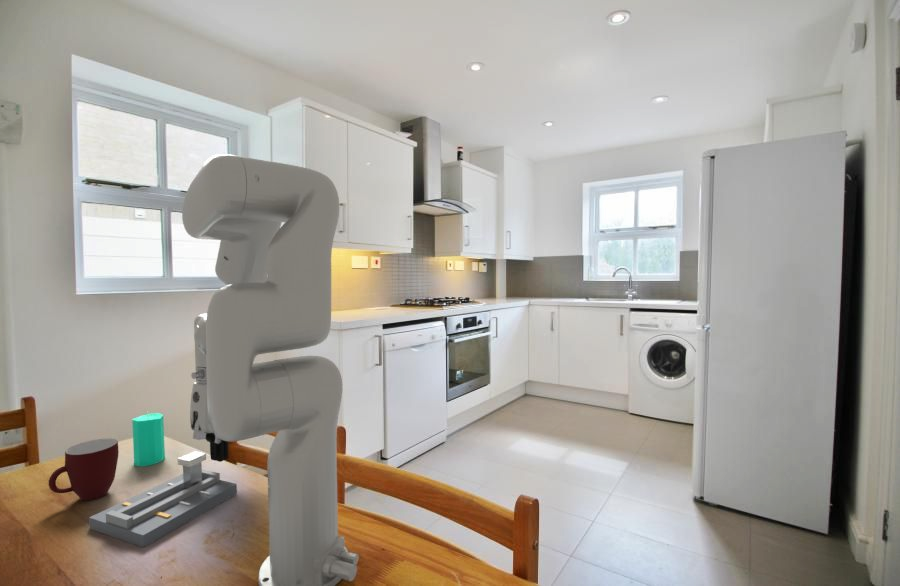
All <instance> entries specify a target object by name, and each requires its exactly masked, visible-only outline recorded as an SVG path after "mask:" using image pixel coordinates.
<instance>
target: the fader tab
mask: <svg viewBox="0 0 900 586" xmlns="http://www.w3.org/2000/svg"><path fill="white" fill-rule="evenodd" d="M206 460H207V453H205V452H200V451H196V450H194V451H192V452H190V453H186V454H185V455H182V456H180V457H177V465H179V466H182V474H183V483H184V488H190V487H192V486H194V485H196V484H198V483H200V482H202V469H203V468H202V462H205V461H206Z"/></svg>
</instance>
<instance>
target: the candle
mask: <svg viewBox="0 0 900 586" xmlns="http://www.w3.org/2000/svg"><path fill="white" fill-rule="evenodd" d="M146 412H147V414H143V415H142V414H141V415H140V416H137V417H134V418H132V419H131V420H132V421H131V422H132V442H133V443H132V444H133V448H132V449H133V464H134V466H136V467H147V466H152V465H155V464H158V463H160V462H162V461H163V460H164V459H165V458H166V454H165V453H166V451H165V432H164V431H165V428H164V427H165V425H164V414H162V413H158V412H152V413H151V412H150V413H149V410H146Z"/></svg>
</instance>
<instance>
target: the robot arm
mask: <svg viewBox="0 0 900 586" xmlns="http://www.w3.org/2000/svg"><path fill="white" fill-rule="evenodd" d="M182 203H183V204H182V207H181V208H182V209H181V212H182V213H181V215H182V216H181V218H182V224H183V227H184V229H185V231H186V233H187V234H188V236H190V237H192V238H194V239H196V240H198V239H199V240H212V241H213V240H214V241H220V243H219V248H218V252H217V253H218V254H217V257H216V261H215V262H216V263H215V267H214V270H215V271H214V272H215V275H216V276H217V278H218V280H220V281H221V282H222V283H223V284H224V285H223V286H222V287H220V288H218V289H217V290H216V291H215V293H214V294H213V295H212V296H211V299H210V302H209V304H208V307H207V311H206V313H201V314H199V315H196V317H194V321H193V330H194V331H193V332H194V333H193V334H194V335H193V337H194V338H193V339H194V361H195V363H194V365H195V371H193V372H191V374H190V376H191V378H192V379H193V380H195V382H193V385H192V390H191V396H190V397H191V398H190V408H189V417H190V418H189V419H190V421H189V422H190V428H191V430H192V431H193V434H192V439H194V440H196V441H197V440H198V441H200V440H206V442H208V443H209V451H210V454H209V455H210V459H211V461H216V462H221V463H222V462H223V461H225V460H227V459H229V443H230V442H233V443H234V442H239V441H244V440H250V439H253V438H257V437H261V436H264V435H269V434H273V433H276V432H277V433H276V436H275V437H274V439H273V441H272V443H271V446H270V448H269V451H268V456H267V463H266V464H267V465H266V468H267V470H266V472H267V497H268V498H267V499H268V501H267V503H268V504H267V505H268V506H267V507H268V536H269V537H268V540H269V546H268V547H269V556H266V559H265V560H264V561H262V563H261V566H260V567H259V570H258V575H257V576H258V577H257V582H258V586H336V585H337V584H338V583H340V582H341V580H345V581H348V582H353V580H355V578H356V575H357V572H358V566H357V564H358V562H359V558H360V556H359V555H360V554H358V553H355V552H351V551H348V548H347V547H346V546H345V537H344V536H340V535H339V524H338V523H339V520H338V517H339V515H338V513H339V511H338V472H337V471H338V470H337V469H338V466H337V465H338V464H337V463H338V462H337V461H338V457H337V456H338V454H337V452H338V451H337V448H338V447H337V446H338V445H337V437H338V435H337V433H338V422H339V414H340V409H341V403H342V398H343V378H342V374H341V371H340V370H339V368H338V365H336V363H334V362H333V361H332V360H331V359H329V358H326V357H323V356H321V355H320V356H319V355H300V356H295V357H287V358H286V357H285V358H281V359H273V360H270V361H263V362H256V363H254V361H255V359H256V357H257V356H258V355H263V354H272V353H277V352H279V353H280V352H285V351H292V350H300V349H305V348H306V349H307V348H310V347H314V346H317V345H320V344H322V343H323V342H324V341H326V339H327V338H328V336H329V334H330V331H331V326H332V323H331V322H332V252H333V244H334V238H335V235H336V231H337V227H338V222H339V217H340V198H339V193H338V190H337V187H336V185H335V184H334V182H333V181H332V180H331V178H330V177H329V176H327V175H325V174H323V173H322V172H319V171H317V170H314V169H311V168H306V167H303V166H299V165H294V164H288V163H282V162H277V161H276V162H275V161H268V160H262V159H257V158H252V157H245V156H239V155H234V154H227V153H225V154H215V155H212V156H211V157H209V158H208V159H206V161H205V162H204V163H203V165H202V166H201V168H200V169H199V171H198V172H197V174H196V176H195V177H194V178H193V180H192V181H191V182H190V185H189V186H188V188H187V191H186V193H185V195H184V199H183V202H182ZM282 223H283V224H282Z"/></svg>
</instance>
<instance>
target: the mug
mask: <svg viewBox="0 0 900 586" xmlns="http://www.w3.org/2000/svg"><path fill="white" fill-rule="evenodd" d="M118 459H119V441H118V440H117V439H115V438H100V439H99V438H98V439H92V440H88V441H85V442H80V443H78V444H75V445H73V446H71V447H69V448H67V449H66V450H65V452H64V465H63V466H61V467H59V468H56V469H55V470H54V471H53V472H52V474H51V475H50V477H49V479H48V487H49V489H50V490H51V491H52V492H53V493H55V494H66V493H71V492H73V493H74V494H75V495H76V496H77V497H78V498H79V499H81V500H82V501H84V502H85V501H86V502H89V501H94V500H98V499H100V498H103V497H105V496H106V495H107V493H108V492H109V490H110V489H111V486H112V485H113V483H114V481H115V477H116V472H117V466H118ZM63 473H66V474H67V477H68V481H69V483H70V487H66V488H59V487H58V486H57V484H56V483H57V479H58V478H59V476H61V474H63Z"/></svg>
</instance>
